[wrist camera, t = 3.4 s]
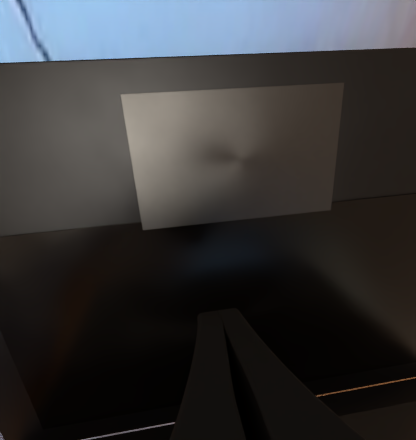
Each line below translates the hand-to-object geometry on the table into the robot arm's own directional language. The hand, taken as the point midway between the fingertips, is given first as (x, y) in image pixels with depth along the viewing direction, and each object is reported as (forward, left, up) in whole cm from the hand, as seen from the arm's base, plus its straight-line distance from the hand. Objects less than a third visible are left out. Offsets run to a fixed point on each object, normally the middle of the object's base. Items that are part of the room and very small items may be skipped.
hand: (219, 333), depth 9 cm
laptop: (-1, -2, -7) cm, 7 cm away
